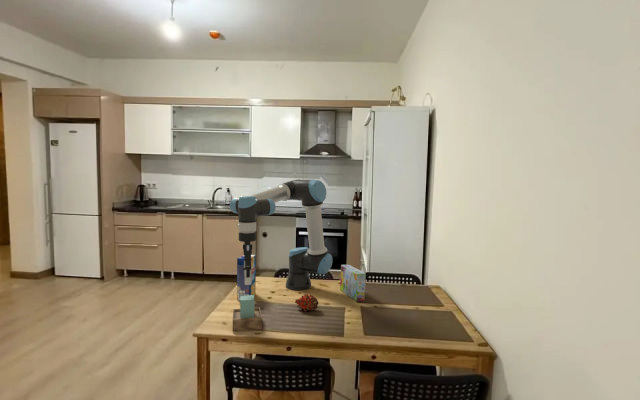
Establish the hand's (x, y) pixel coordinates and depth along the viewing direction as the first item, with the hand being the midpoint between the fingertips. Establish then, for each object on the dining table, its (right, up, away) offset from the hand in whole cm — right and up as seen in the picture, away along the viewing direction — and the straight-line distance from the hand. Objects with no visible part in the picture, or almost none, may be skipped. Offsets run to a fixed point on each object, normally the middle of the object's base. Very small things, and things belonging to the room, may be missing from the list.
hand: (247, 279), depth 156 cm
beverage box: (-8, -18, +37) cm, 42 cm away
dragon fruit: (+25, -20, +19) cm, 37 cm away
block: (0, -16, +1) cm, 16 cm away
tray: (-1, -20, +1) cm, 20 cm away
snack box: (+50, -18, +43) cm, 68 cm away
